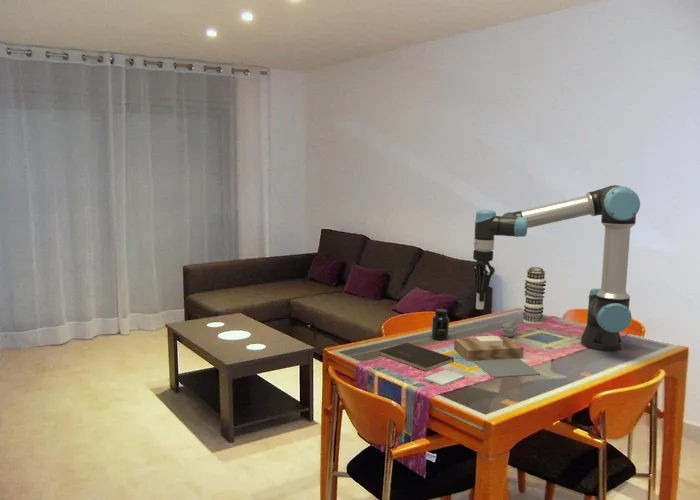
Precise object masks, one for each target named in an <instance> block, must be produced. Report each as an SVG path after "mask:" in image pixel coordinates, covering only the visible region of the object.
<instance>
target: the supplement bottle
mask: <svg viewBox="0 0 700 500" xmlns="http://www.w3.org/2000/svg"><path fill="white" fill-rule="evenodd" d="M434 314H435V315H434V316H433V317H432V320H431V321H432V322H431V323H432V324H431V338H432V340H435V341H447V340H448V339H449V328H450V318H449V317H448V310H447V309H445V308H437V309H435V313H434Z"/></svg>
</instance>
